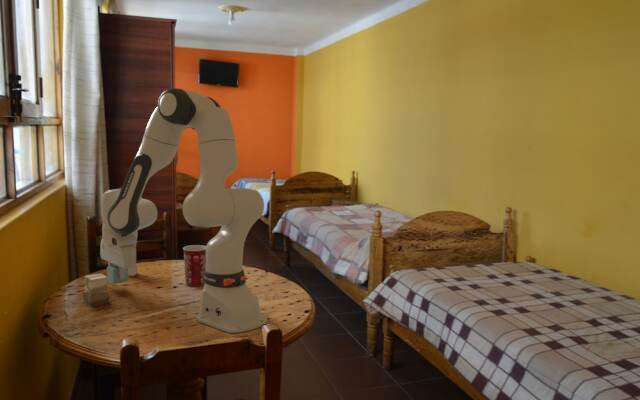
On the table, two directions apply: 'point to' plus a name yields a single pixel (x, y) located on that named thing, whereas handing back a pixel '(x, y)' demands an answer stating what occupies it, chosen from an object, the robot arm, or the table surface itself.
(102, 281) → the maple block
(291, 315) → the table surface
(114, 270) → the teal block
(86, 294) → the walnut base
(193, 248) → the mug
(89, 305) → the mat
